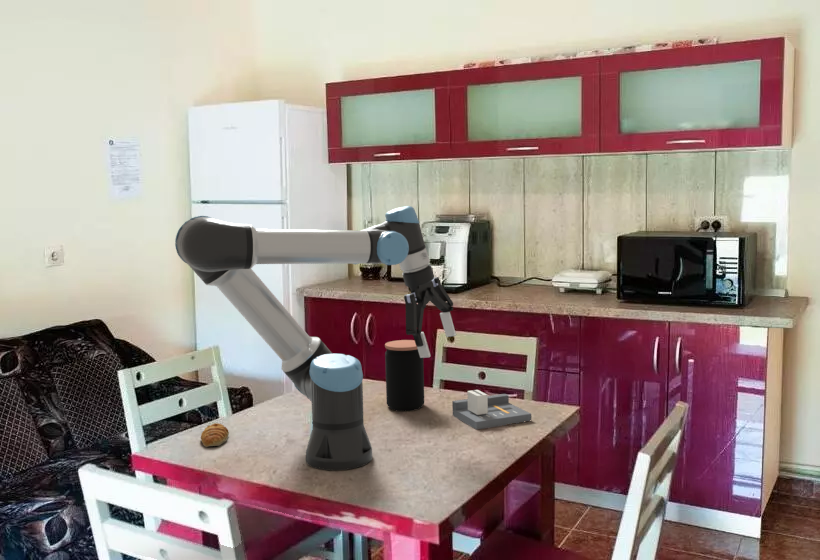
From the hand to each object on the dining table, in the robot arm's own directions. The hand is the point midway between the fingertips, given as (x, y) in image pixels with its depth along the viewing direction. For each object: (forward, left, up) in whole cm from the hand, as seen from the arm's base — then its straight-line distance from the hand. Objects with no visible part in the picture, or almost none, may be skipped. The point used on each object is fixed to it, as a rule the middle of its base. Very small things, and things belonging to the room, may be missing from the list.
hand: (438, 346), depth 209 cm
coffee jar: (-1, +21, -21) cm, 30 cm away
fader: (+11, 0, -18) cm, 21 cm away
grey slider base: (+15, 0, -21) cm, 25 cm away
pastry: (-55, +14, -21) cm, 61 cm away
